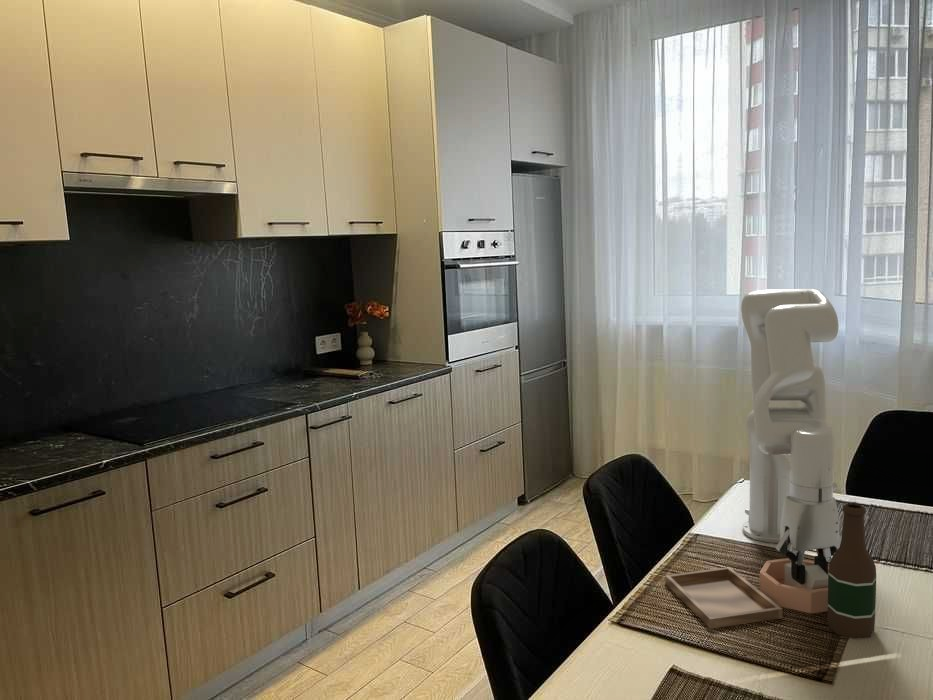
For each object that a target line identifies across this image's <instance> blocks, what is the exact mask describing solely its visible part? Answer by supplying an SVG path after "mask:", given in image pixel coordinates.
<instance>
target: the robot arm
mask: <svg viewBox="0 0 933 700" xmlns="http://www.w3.org/2000/svg"><path fill="white" fill-rule="evenodd" d="M740 309H741V310H740V311H741V319H742V322H743V326H744V329H745V331H746V333H747V336H748V339H749V342H750V358H751V359H750V364H751V365H750V366H751V387H752V389H751V390H752V393H753V395H754V397H755V399H754V402H753V409H752V410H751V411H749V413H748V414H747V416H746V419H745V426H746V428H745V429H746V433H747V434H746V435H747V441H748V449H749V451H748V452H749V508H745V510H744V513H745V514H746V515H747V516H748V520H747V521H746V522H745V523H743V524H742V532H743V534H745V536H747V537H749V538H750V539H752V540H756V541H759V542H764V543H772V544H773V543H774V544H776V546H775V550H776V551H777V552H779V553H781V554H782V555H784V556H786V558H789V560H791V575H792V578H793V579H794V580H795V581H797V582H798V583H799V584H801V585H802V584H804V583H805V566H804V565H803V564H802V563H803V560H804V558H805V557H804V556H805V553H806V551H812V550H815V551H816V555H814V558H813V561H814V565H819V566H820V567H821V568H822V569H823V570H824V572H825V573H826V574H828V566H829V563H830V561H831V559H832V556H833V555H834V553H835V552H836V551H837V550H838V549H839V547H840V543H841V539H842V535H840V527H839V526H840V525H839V523H840V522H839V512H838V506H837V501H836V498H835V496H834V490H837V489H838V483H836V482H834V465H835V464H834V463H835V460H834V459H835V457H834V456H835V437H834V435H833V430H832V428H831V427H830V426H829V424H828V423H827V412H826V409H827V408H826V383H825V382H826V380H825V377H824V373H823V370H822V369H821V367H820V366H819V364H817V363H815V362H814V358H813V351H812V344H811V343H829V342H833V341H834V340H835V339H836V338H837V336H838V333H839V326H840V324H839V320H838V314H837V311H836V309H835V307H834V306H833V304H832V303H831V302H830V301H829V299H828V298H827V297H826V296H825V295H824V293H823V292H822V291H821V290H819V289H815V288H790V289H789V288H788V289H787V288H786V289H781V288H780V289H779V288H778V289H777V288H776V289H774V288H773V289H762V290H755V291H754V290H753V291H751V292H749V293H747V294H745V295H744V296H743V297H742V300H741V308H740ZM770 402H800V403H801V404H802V406H770V405H769V404H770ZM788 456H790V458H789V457H788ZM789 545H790V548H789V549H788V547H789Z"/></svg>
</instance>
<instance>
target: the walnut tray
mask: <svg viewBox="0 0 933 700" xmlns="http://www.w3.org/2000/svg"><path fill="white" fill-rule="evenodd" d="M664 576H665V577H664V578H665V579H664V582H665V583H664V584H665V585H666V586H667V587H668V588H669V589H670V590H671V591H672V592H673V593H674V594H675V595H676V596H677V597H678V598H679V599H680V600H681V601H682V602H683V603H684V604H685V605H686V606H687V607H688V608H689V609H690V610H691V611H692V612H693V613H694V614H695V616H697V617H698V618H699V619H700V620H701V621H702V622H703V623H704V624H705V625H706V626H707V627H708V628H709V629H717V628H725V627H729V626H730V627H732V626H737V625H745V624H749V623H750V624H751V623H758V622H765V621H771V620H778V619H783V607H780V606H778V605H777V604H776V603H774V602H773V601H772V600H771V599H769V598H768V597H767V596H766V595H764V594H763V593H762V592H761V591H760V589H758V588H757V587H756V586H755V585H753V584H752V583H751V582H749V581H748V580H747V579H746V578H744V577H743V576H742V575H740V574H739V573H738V572H737V571H735V570H734V569H733V568H731V566H727V567H719V568H711V569H705V570H695V571H688V572H680V573H674V574H666V575H664Z"/></svg>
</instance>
